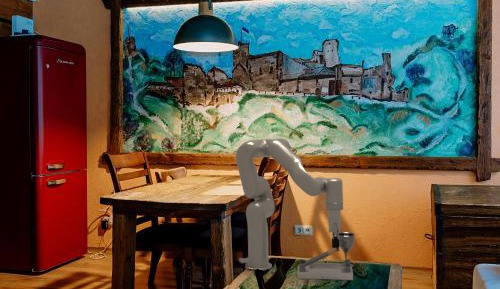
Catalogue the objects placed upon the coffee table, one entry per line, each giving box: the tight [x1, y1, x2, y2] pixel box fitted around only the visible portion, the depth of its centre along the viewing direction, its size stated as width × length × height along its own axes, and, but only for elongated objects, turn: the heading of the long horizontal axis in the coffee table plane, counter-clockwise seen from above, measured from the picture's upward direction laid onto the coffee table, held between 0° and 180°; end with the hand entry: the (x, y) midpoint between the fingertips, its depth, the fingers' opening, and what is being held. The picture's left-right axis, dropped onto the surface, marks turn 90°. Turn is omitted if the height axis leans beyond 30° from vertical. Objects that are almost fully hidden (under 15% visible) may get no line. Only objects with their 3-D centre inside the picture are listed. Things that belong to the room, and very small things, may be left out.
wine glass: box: [339, 231, 355, 268], centre depth 260 cm, size 8×8×15 cm
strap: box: [302, 247, 340, 267], centre depth 244 cm, size 18×5×1 cm, turn 82°
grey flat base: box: [297, 258, 354, 281], centre depth 244 cm, size 24×10×7 cm, turn 83°
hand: (335, 247), depth 243 cm, fingers closed
